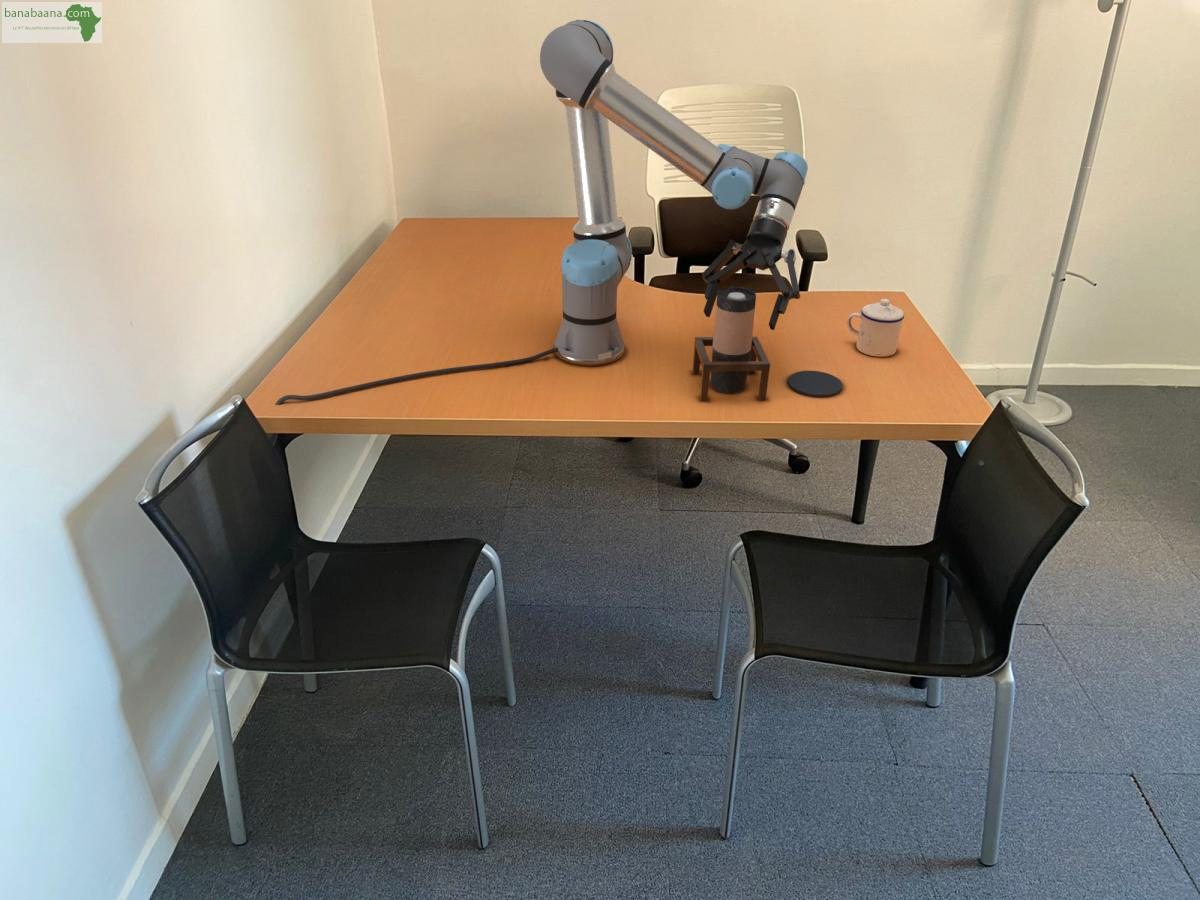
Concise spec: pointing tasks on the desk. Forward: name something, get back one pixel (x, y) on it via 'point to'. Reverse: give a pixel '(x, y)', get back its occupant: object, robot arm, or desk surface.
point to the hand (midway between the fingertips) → (738, 320)
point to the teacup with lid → (878, 328)
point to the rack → (730, 365)
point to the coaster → (815, 383)
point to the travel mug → (732, 336)
